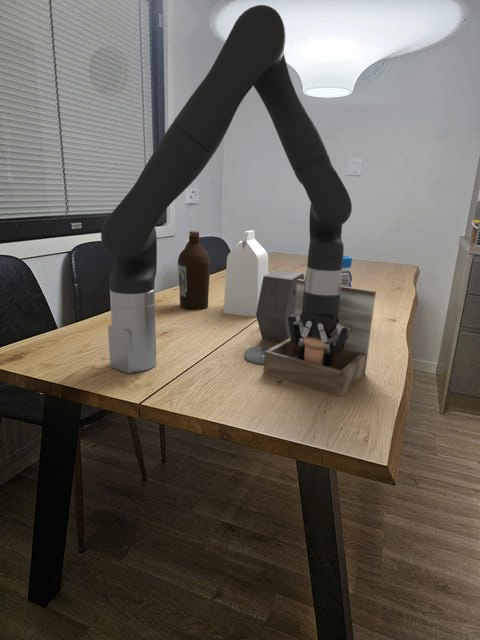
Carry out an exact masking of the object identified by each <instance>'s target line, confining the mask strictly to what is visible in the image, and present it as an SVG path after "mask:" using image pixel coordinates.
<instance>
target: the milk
mask: <svg viewBox="0 0 480 640" xmlns="http://www.w3.org/2000/svg"><path fill="white" fill-rule="evenodd" d="M242 236H243V237H242V240H240V241H238V242H237V243H236V245H235V247H234V248H233V249H232V250H231V251H230V252H229V253H228V254H227V257H226V269H225V270H226V271H225V283H224V285H225V286H224V299H223V300H224V301H223V314H230V315H237V316H238V315H239V316H245V317H252V318H257V317H256V312H257V307H258V302H259V297H260V291H261V286H262V281H263V277H264V276H265V275H267V274H269V254H268V252H267V250H265V248H264V247H263V246H262V245H261V244H260V243H259V242H258V240H256V238H255V237H256V236H255V230H246V231H244V232H243V235H242Z"/></svg>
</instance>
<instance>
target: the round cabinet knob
mask: <svg viewBox="0 0 480 640" xmlns="http://www.w3.org/2000/svg"><path fill="white" fill-rule="evenodd" d="M303 344H304V345H305V351H304V360H305V361H308V362H312V363H316V364H320V365H323V358H324V353H325V349H326V344H325V343H324V342H322V340H321V338H319V337H317V336H311V335H310V336H308V337H307V338H305V337H304V338H303Z"/></svg>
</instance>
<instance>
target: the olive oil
mask: <svg viewBox="0 0 480 640" xmlns="http://www.w3.org/2000/svg"><path fill="white" fill-rule="evenodd" d="M188 233H189V236H188V244H187V245H186V246H185V247H184V249H183V250H182V251H181V252H180V253H179V256H178V258H177V269H178V270H177V271H178V272H177V273H178V286H179V306H180V309H183V310H186V311H202V310H205V309H207V308H208V307H209V293H210V292H209V291H210V278H211V277H210V274H211V273H210V272H211V258H210V254H209V253H208V252H207V251H206V249H205V248H204V247H203V246H202V245H201V243H200V240H201V239H200V238H201V237H200V231H198V230H197V231H196V230H194V231H193V230H192V231H191V230H190V231H189V232H188Z"/></svg>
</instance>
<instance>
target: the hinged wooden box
mask: <svg viewBox="0 0 480 640" xmlns="http://www.w3.org/2000/svg"><path fill="white" fill-rule="evenodd" d="M304 282H305V279H304V280H302V279H298V280H297V289H296V302H295V314H297V315H300V314H301V313H302V304H303V293H304ZM376 295H377V290H371V289H367V288H366V289H364V288H359V287H358V288H357V287H353V286H352V287H347V286H342V288H341V292H340V300H339V309H338V320H339V323H341V324H343V325H345V326H347V325H349V326H350V327H351V331H350V333H349V335H348V338H347V340H346V343H345V345H344V348H343V350H341V351H340V352H339V353H337V354H336V353H333V361H332V365H331V366H330V367H327V366H323V365H320V364H316V363H312V362H308V361H305V360H301V359H298V351H299V346H298V344H296V343H293V342H292V341H291V338H289V339H287V340H285V341H283V342H279V343H278V344H276V345H274V346H272V347H269V348H270V349H269V350H267V351H265V352H264V364H263V370H262V371H263V374H265V375H269V376H272V377H276V378H279V379H282V380H285V381H289V382H292V383H294V384H298V385H302V386H306V387H308V388H312V389H315V390H318V391H320V392H321V391H322V392H324V393H327V394H332V395H335V396H338V397H341V398H342V397H343V396H344V395H345V394H346V393H347V392H349V390H350V389H352V388H353V386H354V385H355V384H356V383H357V382H358V381H359V380H360V379H362V377H363V376H364V375H365V374H366V371H367V370H366V369H367V361H368V356H369V346H370V341H371V340H370V339H371V331H372V324H373V317H374V316H373V315H374V310H375V309H374V308H375V301H376ZM299 328H300V335H302V333H303V330H304V326H303V324H302V322H301V320H300V324H299ZM332 333H333V337H334V340H333V342H334V346H335V345H336V342H337V340H338V337H339V334H338V329H337V328H335V329H334V330H333V331H332Z"/></svg>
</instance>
